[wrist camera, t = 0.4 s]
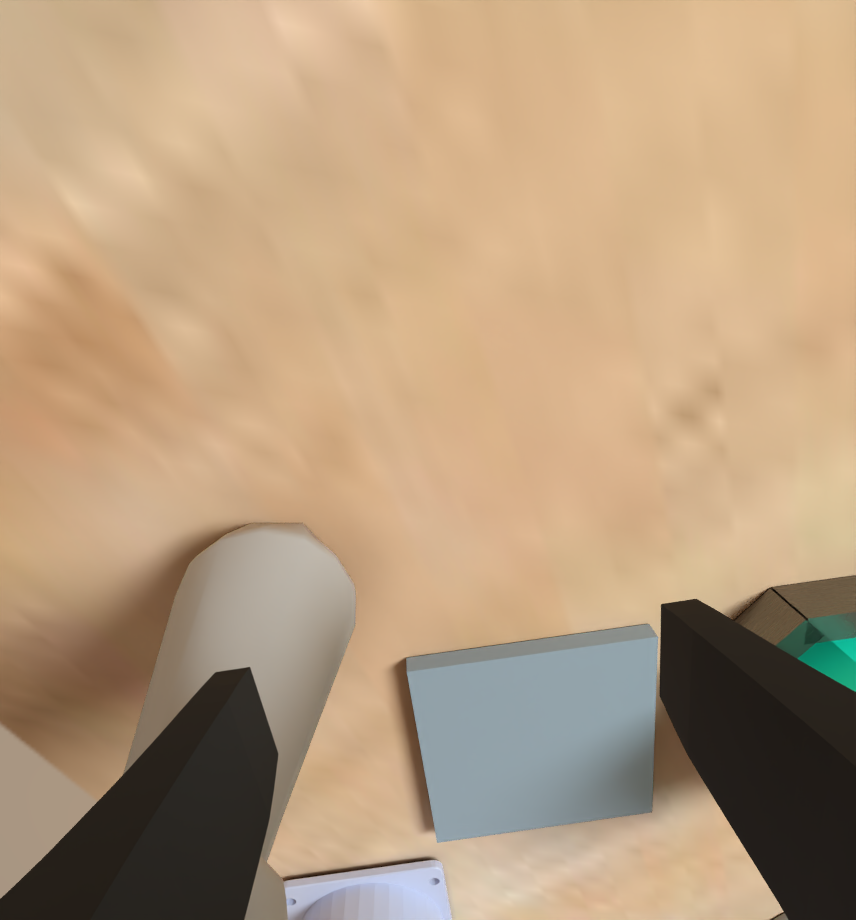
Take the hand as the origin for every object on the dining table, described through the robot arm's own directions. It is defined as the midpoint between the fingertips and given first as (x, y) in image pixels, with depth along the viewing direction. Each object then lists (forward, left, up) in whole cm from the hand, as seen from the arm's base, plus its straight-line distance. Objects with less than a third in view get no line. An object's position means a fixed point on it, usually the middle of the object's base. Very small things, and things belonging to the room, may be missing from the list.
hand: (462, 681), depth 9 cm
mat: (-13, -3, -10) cm, 17 cm away
